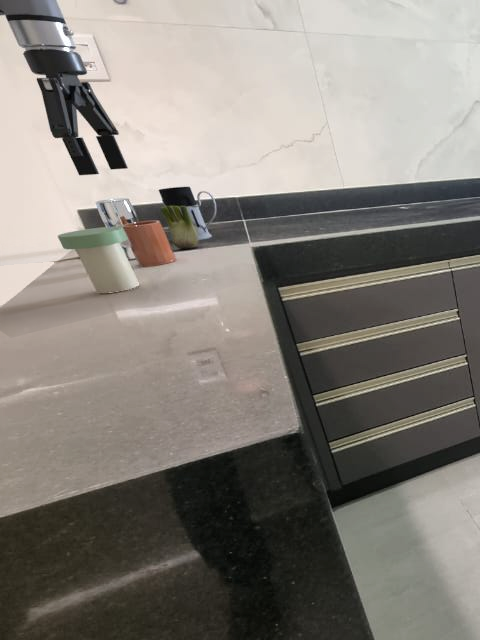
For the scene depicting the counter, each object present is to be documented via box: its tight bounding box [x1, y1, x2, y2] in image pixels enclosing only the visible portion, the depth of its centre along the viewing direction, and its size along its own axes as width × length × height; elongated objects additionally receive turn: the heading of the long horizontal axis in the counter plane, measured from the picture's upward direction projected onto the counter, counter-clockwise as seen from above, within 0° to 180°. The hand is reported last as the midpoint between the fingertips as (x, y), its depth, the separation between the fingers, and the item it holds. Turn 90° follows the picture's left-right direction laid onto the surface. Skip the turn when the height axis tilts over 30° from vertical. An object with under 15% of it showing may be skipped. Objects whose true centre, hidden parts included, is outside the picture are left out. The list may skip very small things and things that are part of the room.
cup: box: [121, 220, 177, 267], centre depth 134 cm, size 7×7×10 cm
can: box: [74, 243, 140, 294], centre depth 113 cm, size 7×7×10 cm
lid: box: [57, 226, 128, 250], centre depth 110 cm, size 10×10×2 cm
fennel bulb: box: [160, 206, 199, 250], centre depth 148 cm, size 6×5×12 cm
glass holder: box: [158, 186, 217, 241], centre depth 161 cm, size 9×14×15 cm, turn 96°
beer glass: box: [94, 197, 140, 261], centre depth 140 cm, size 7×7×15 cm
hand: (105, 171), depth 107 cm, fingers open, 13 cm apart
